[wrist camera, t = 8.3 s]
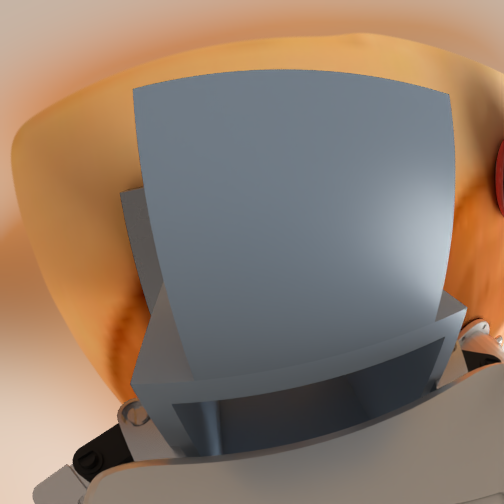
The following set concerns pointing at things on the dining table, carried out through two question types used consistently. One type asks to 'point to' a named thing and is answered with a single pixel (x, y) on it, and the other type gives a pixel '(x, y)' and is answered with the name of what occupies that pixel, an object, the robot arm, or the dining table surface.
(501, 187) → the plant pot
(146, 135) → the elbow
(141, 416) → the robot arm
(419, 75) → the dining table surface
